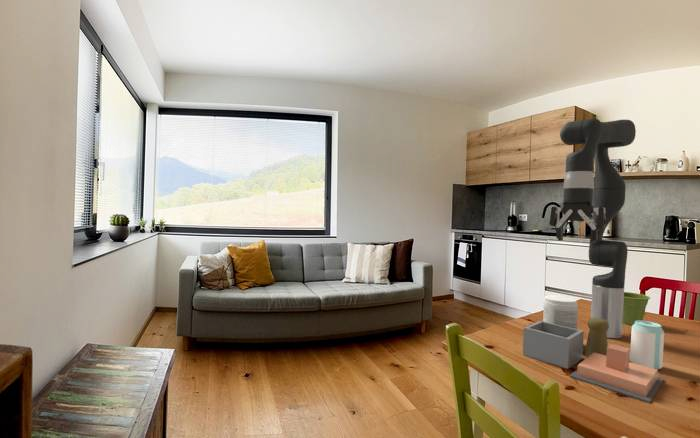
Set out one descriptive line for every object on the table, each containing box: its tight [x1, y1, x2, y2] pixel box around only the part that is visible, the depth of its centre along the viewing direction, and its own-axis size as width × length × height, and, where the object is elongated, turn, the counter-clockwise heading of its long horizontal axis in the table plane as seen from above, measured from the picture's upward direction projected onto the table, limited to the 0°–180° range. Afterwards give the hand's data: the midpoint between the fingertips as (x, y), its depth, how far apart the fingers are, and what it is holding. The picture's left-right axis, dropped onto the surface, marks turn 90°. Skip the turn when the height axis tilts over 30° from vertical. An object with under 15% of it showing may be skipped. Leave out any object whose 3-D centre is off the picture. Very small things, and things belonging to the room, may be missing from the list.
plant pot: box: [623, 291, 651, 326], centre depth 143 cm, size 12×12×11 cm
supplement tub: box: [542, 294, 579, 329], centre depth 117 cm, size 10×10×15 cm
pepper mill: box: [584, 317, 609, 357], centre depth 108 cm, size 6×6×11 cm
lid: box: [576, 343, 659, 397], centre depth 93 cm, size 14×14×8 cm
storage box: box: [522, 320, 585, 370], centre depth 106 cm, size 12×12×8 cm
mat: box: [569, 369, 665, 404], centre depth 93 cm, size 18×16×1 cm
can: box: [629, 320, 665, 371], centre depth 102 cm, size 7×7×12 cm
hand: (575, 241), depth 109 cm, fingers open, 8 cm apart
